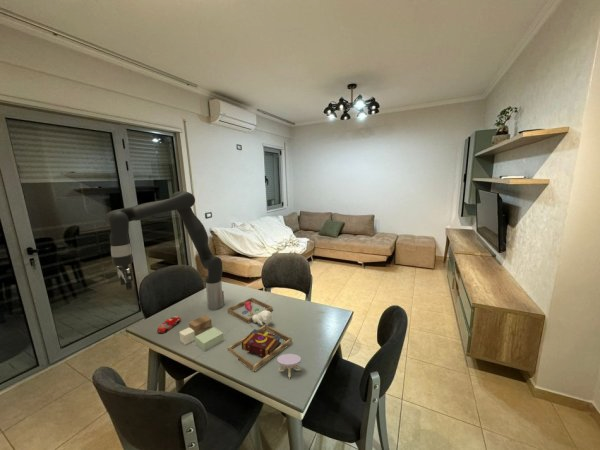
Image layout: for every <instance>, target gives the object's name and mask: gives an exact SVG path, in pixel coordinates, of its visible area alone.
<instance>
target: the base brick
mask: <svg viewBox="0 0 600 450" xmlns="http://www.w3.org/2000/svg"><path fill="white" fill-rule="evenodd" d="M223 338H224V332H222V331H221V330H220V329H218V328H216V327H215V326H213V327H210V328H208V329H206V330H204V331H202V332H200V333H198V334H196V335H195V340H194V342H195V341H196V345H197V346H199V347H200V348H201V349H202V350H203V351H206V350H208V349H209V348H211V347H213V346H215V345H216V344H218V343H220V342H222V341H223Z"/></svg>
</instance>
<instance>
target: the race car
mask: <svg viewBox="0 0 600 450" xmlns="http://www.w3.org/2000/svg"><path fill="white" fill-rule="evenodd" d="M181 322H182V318H181V317H180V316H177V315H176V316H172V317H169V318H168V319H166V320H165V321H164V322H162V324H161V325H160V326H158V327H157V333H159V334H164V333H168V331H170V330H172V329H173V328H174V327H175V326H177V325H179V324H180V323H181Z"/></svg>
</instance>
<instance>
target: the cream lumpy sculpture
mask: <svg viewBox="0 0 600 450" xmlns="http://www.w3.org/2000/svg"><path fill="white" fill-rule="evenodd" d="M258 313H259V314H258ZM258 313H256V314H257V315H256V314H253V316H251V317H252V320H253V323H254V324H256V323H257V324H259V325H261V326H264V325H267V326H269V325H270V324H271V322H272V320H273V314H272V311H271V312H270V311H266V309H264V310H262V311H259V312H258ZM263 323H265V324H263Z"/></svg>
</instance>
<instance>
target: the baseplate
mask: <svg viewBox="0 0 600 450" xmlns="http://www.w3.org/2000/svg"><path fill="white" fill-rule="evenodd" d="M227 342H228V340H227V339H226V338H224V337H223V341H222V342H220V343H218V344H216V345H215V346H213V347H211V348H209V349H208V350H206V351H203V350H202V349H201V348H200V347H199V346H197V345H196V341H195V340H194V341H193V342H192V343H191V344H192V345H193V346H194V347H195V348H196V349H198V351H200V352H201V353H202V354H203V355H206V354H208V353H211V352H212V351H213V350H215V349H217V348H218V347H220V346H222V345H224V344H226V343H227Z"/></svg>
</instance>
